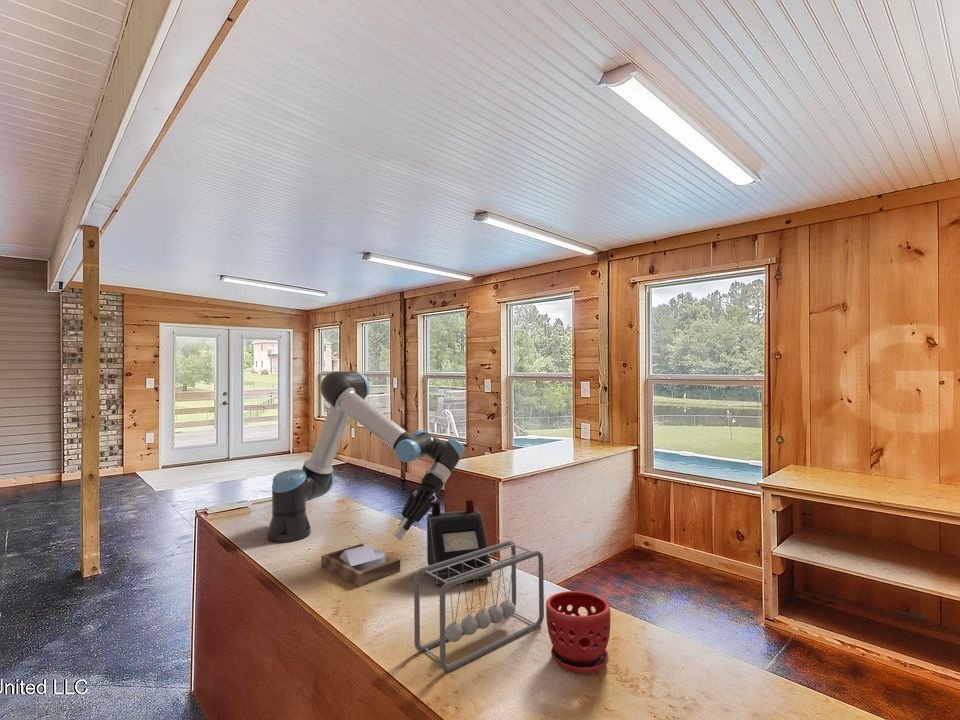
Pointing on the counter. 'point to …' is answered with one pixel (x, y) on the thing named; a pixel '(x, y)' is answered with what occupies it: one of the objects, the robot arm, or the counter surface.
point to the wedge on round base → (363, 557)
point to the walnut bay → (354, 575)
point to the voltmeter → (455, 540)
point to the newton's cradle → (481, 617)
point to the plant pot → (578, 631)
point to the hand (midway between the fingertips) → (397, 537)
